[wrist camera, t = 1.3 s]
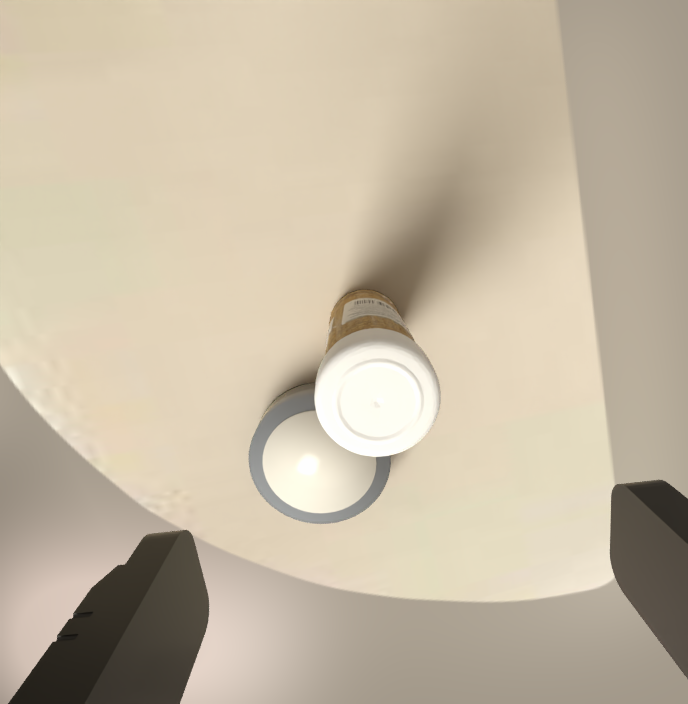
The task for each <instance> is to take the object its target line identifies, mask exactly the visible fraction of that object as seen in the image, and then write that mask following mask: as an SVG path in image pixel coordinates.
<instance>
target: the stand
mask: <svg viewBox="0 0 688 704" xmlns="http://www.w3.org/2000/svg"><path fill="white" fill-rule="evenodd" d="M315 384H316V383H310V384H304V385H301V386H298V387H295V388H293V389H291V390H288V391H287V392H285V393H283V394H282V395H280V396H279V397H278V398H277V399H276V400H274V401H273V402H272V404H271V405H270V406H269V407H268V408H267V410H266V411H265V413H264V415H263V417H262V419H261V421H260V423H259V425H258V427H257V429H256V432H255V434H254V436H253V438H252V442H251V445H250V450H249V467H250V472H251V476H252V479H253V481H254V484H255V486H256V488H257V489H258V491H259V492H260V494H261V495H262V496H263V498H264V499H265V500H266V501H267V502H268V503H269V504H270V505H271V506H272V507H274V508H275V509H276V510H278V511H279V512H281V513H283V514H284V515H286V516H288V517H291V518H293V519H296V520H299V521H302V522H307V523H315V524H327V523H335V522H340V521H343V520H347V519H349V518H352V517H354V516H356V515H358V514H359V513H361V512H363V511H364V510H365V509H367V508H368V507H369V506H370V505H371V504H372V503H373V502H374V501H375V500H376V499H377V498H378V497H379V495H380V494H381V492H382V491H383V489H384V487H385V485H386V482H387V480H388V476H389V472H390V464H391V462H390V455H389V456H381V457H373V456H365V455H360V454H357V453H354V452H351V451H349V450H347V449H345V448H344V447H342V446H340V445H339V444H338V443H336V442H335V441H334V440H333V439H332V438H331V437H330V436H329V435H328V434H327V432H326V431H325V430H324V428H323V427H322V425H321V423H320V421H319V419H318V416H317V413H316V408H315V401H314V395H315Z"/></svg>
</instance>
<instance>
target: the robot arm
mask: <svg viewBox="0 0 688 704" xmlns="http://www.w3.org/2000/svg"><path fill="white" fill-rule="evenodd" d="M610 559H611V565H612V569H613V572H614V575H615V578H616V580H617V582H618V584H619V586H620V588H621V590H622V591H623V593H624V594H625V595H626V597H627V598H628V600H629V601H630V602H631V604H632V605H633V606H634V608H635V609H636V610H637V612H638V613H639V614H640V616H641V617H642V618H643V620H644V621H645V622H646V624H647V625H648V626H649V628H650V629H651V630H652V632H653V633H654V635H655V636H656V637H657V638H658V640H659V641H660V643H661V644H662V645H663V647H664V648H665V649H666V651H667V652H668V653H669V654H670V656H671V657H672V659H673V660H674V661H675V663H676V664H677V665H678V667H679V668H680V669H681V671H682V672H683V673H684V675H685V676H686V677H687V678H688V499H687V498H686V497H685V496H683V495H682V494H681V493H680V492H678V491H677V490H676V489H675V488H674V487H672V486H671V485H670V484H668V483H667V482H665V481H663V480H654V481H644V482H635V483H626V484H617V485H616V486H615V487H614V488H613V490H612V495H611V533H610ZM208 617H209V598H208V593H207V589H206V585H205V581H204V578H203V573H202V569H201V566H200V562H199V558H198V554H197V550H196V546H195V543H194V539H193V536H192V534H191V533H190V532H189V531H188V530H182V531H172V532H164V533H154V534H148V535H146V536H145V537H144V538H143V539H142V540H141V542H140V543H139V545H138V546H137V548H136V549H135V551H134V552H133V554H132V555H131V557H130V558H129V560H128V561H127V563H126V564H125V565H118V566H117V567H115V568H114V569H113V570H112V571H111V572H110V573H109V574H107V575H106V576H105V577H104V578H103V579H102V580H100V581H99V582H98V583H97V584H96V585H95V586H94V587H92V588H91V590H90V591H89V592H88V594H87V595H86V597H85V598H84V600H83V601H82V602H81V604H80V605H79V606H78V608H77V609H76V611H75V612H74V613H73V618H72V619H69V620H68V622H67V623H66V624H65V626H64V627H63V628H62V630H61V631H60V633H59V634H58V635H57V641H56V642H52V644H51V645H50V647H49V648H48V650H47V651H46V652H45V653H44V655H43V656H42V658H41V659H40V660H39V662H38V663H37V665H36V666H35V667H34V669H33V670H32V671H31V673H30V674H29V676H28V677H27V678H26V680H25V681H24V683H23V684H22V685H21V687H20V688H19V689H18V691H17V692H16V694H15V695H14V696H13V698H12V699H11V701H10V702H9V703H8V704H180V701H181V698H182V696H183V693H184V690H185V687H186V685H187V682H188V679H189V676H190V673H191V671H192V668H193V665H194V663H195V660H196V657H197V654H198V651H199V649H200V646H201V643H202V640H203V637H204V635H205V632H206V628H207V624H208Z"/></svg>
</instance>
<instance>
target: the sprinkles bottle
mask: <svg viewBox="0 0 688 704" xmlns="http://www.w3.org/2000/svg"><path fill="white" fill-rule="evenodd" d="M314 401H315V408H316V413H317V416H318V419H319V421H320V423H321V425H322V427H323V428H324V430H325V431H326V432H327V434H328V435H329V436H330V437H331V438H332V439H333V440H334V441H335V442H336V443H338V444H339V445H340V446H342V447H344V448H345V449H347V450H349V451H351V452H354V453H357V454H360V455H365V456H373V457H381V456H389V455H393V454H397V453H400V452H402V451H405V450H407V449H409V448H410V447H412V446H414V445H415V444H416V443H418V442H419V441H420V440H422V438H423V437H424V436H425V435H426V434H427V433H428V432H429V430H430V429H431V427H432V426H433V424H434V422H435V420H436V418H437V415H438V411H439V408H440V386H439V382H438V378H437V375H436V373H435V370H434V368H433V366H432V365H431V363H430V361H429V359H428V357H427V356H426V354H425V353H424V352H423V350H422V349H421V348H420V347H419V346H418V345H417V344H416V343H415V341H414V339H413V337H412V335H411V334H410V332H409V330H408V328H407V327H406V325H405V323H404V322H403V320H402V318H401V317H400V315H399V312H398V310H397V308H396V306H395V305H394V304H393V302H392V301H391V300H390V299H389V298H388V297H386V296H384V295H383V294H381V293H378V292H376V291H373V290H358V291H355V292H352V293H349V294H347V295H346V296H344V297H343V298H342V299H340V300H339V301H338V302H337V304H336V305H335V307H334V309H333V310H332V312H331V317H330V322H329V329H328V334H327V341H326V354H325V356H324V358H323V360H322V362H321V364H320V367H319V369H318V373H317V378H316V384H315V395H314Z"/></svg>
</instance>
